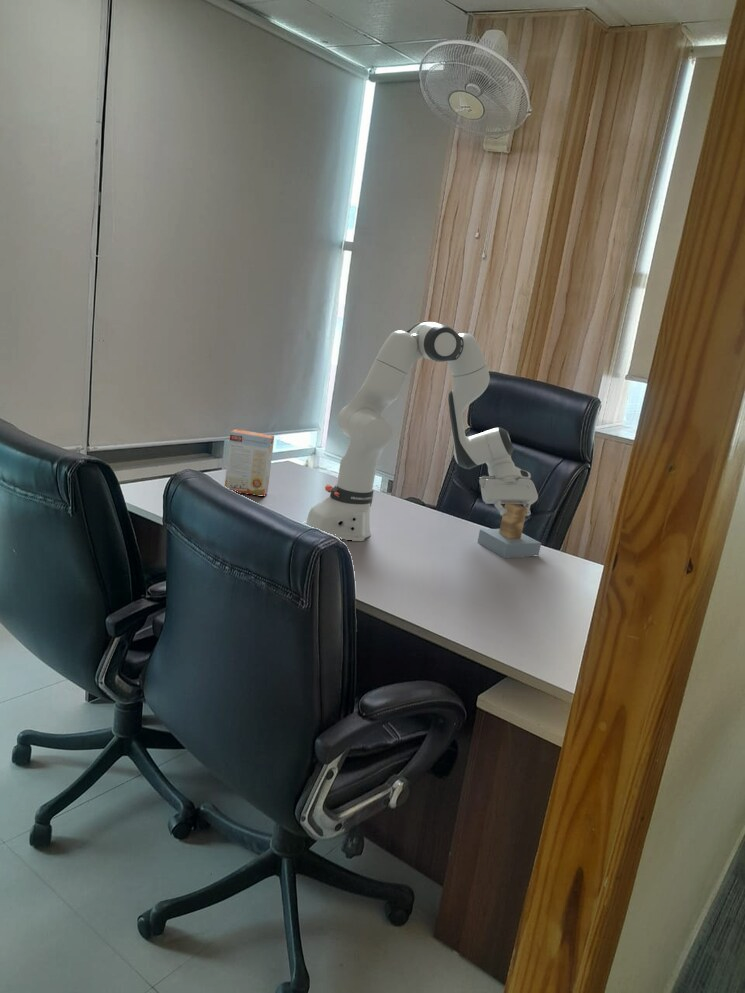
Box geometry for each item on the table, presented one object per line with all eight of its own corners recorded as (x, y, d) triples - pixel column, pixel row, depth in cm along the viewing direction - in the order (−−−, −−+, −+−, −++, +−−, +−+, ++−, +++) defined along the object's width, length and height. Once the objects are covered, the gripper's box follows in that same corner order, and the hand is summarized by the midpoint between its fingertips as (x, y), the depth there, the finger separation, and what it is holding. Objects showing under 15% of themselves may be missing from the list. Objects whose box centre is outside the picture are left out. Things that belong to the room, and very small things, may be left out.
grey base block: (504, 559, 244) (507, 544, 243) (477, 543, 256) (480, 529, 254) (538, 557, 252) (541, 543, 250) (510, 542, 263) (513, 528, 262)
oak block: (507, 538, 249) (514, 508, 247) (498, 533, 253) (505, 503, 251) (520, 538, 251) (527, 508, 249) (511, 533, 256) (517, 503, 253)
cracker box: (267, 494, 272) (275, 435, 267) (263, 498, 266) (271, 438, 261) (228, 486, 273) (235, 428, 267) (223, 491, 267) (230, 430, 262)
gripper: (483, 471, 248) (495, 510, 243) (533, 472, 258) (546, 510, 252) (472, 480, 253) (484, 519, 247) (522, 482, 263) (534, 519, 257)
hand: (516, 514), depth 250 cm, fingers open, 8 cm apart
